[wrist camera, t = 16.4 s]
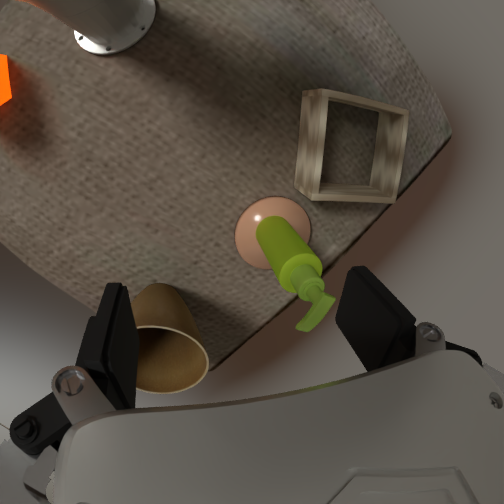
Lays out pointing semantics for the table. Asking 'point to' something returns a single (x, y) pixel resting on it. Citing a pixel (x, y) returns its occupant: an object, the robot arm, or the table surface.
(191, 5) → the table surface
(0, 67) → the orange juice
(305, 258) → the soap dispenser
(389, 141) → the open wooden box
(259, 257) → the peach oval pebble
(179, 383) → the plant pot
